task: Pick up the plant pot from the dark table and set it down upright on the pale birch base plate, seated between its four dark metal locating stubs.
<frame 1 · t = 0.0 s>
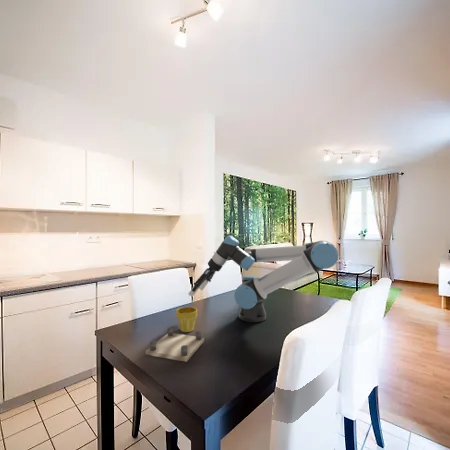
hand: (195, 292, 138), 15 cm above the table, tool tilted 35°, fingers open, 13 cm apart
stub plate: (176, 347, 107), on the table
plant pot: (186, 330, 125), on the table
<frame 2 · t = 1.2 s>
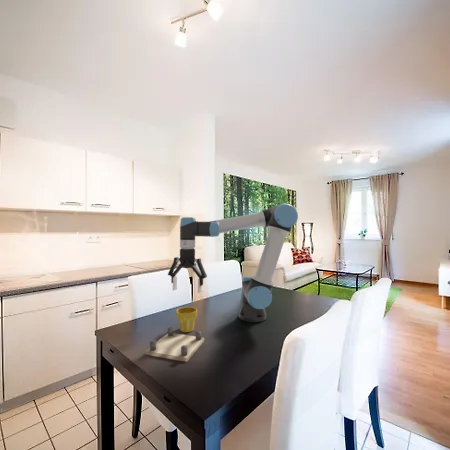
hand: (186, 291, 126), 19 cm above the table, tool pointing down, fingers open, 13 cm apart
nothing on the table moved.
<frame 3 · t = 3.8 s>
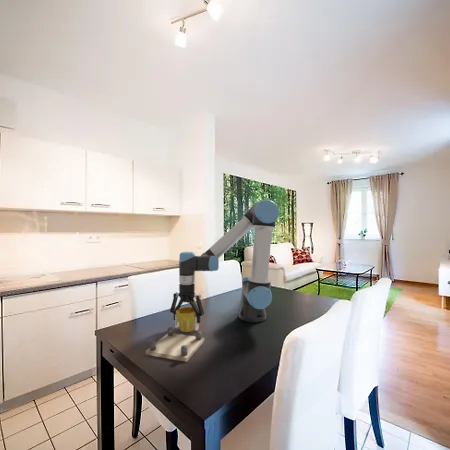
hand: (186, 328, 125), 1 cm above the table, tool pointing down, fingers closed on plant pot, 10 cm apart
plant pot: (186, 330, 125), on the table, touching gripper
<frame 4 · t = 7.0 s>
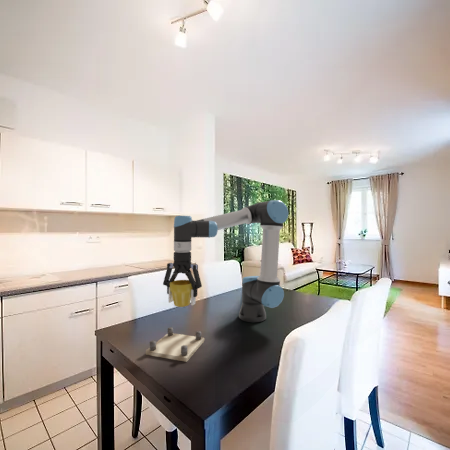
hand: (181, 303, 109), 18 cm above the table, tool pointing down, fingers closed on plant pot, 10 cm apart
plant pot: (181, 305, 109), point 17 cm above the table, touching gripper
when the fingers open (3 cm above the table, at t = 10.4 s): plant pot moves 2 cm, point 3 cm above the table.
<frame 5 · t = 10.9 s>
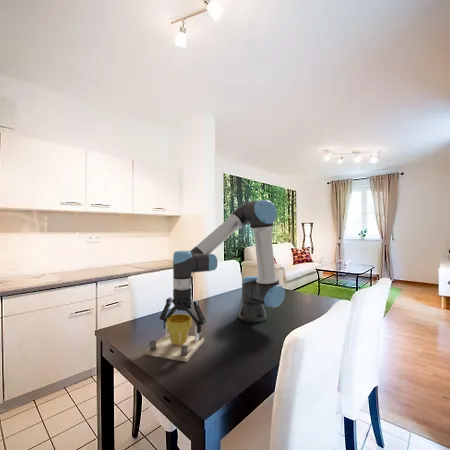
hand: (182, 338, 106), 4 cm above the table, tool pointing down, fingers open, 13 cm apart
plant pot: (178, 341, 107), point 3 cm above the table, touching gripper
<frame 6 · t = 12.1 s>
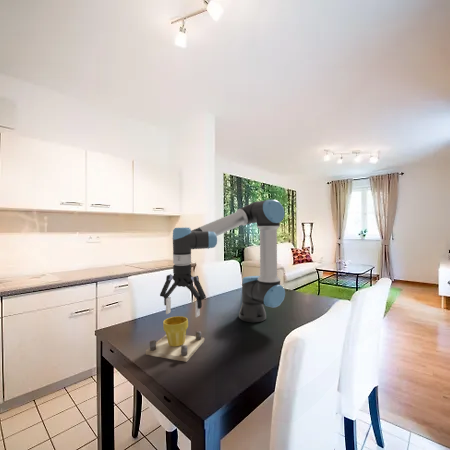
hand: (182, 314, 106), 14 cm above the table, tool pointing down, fingers open, 13 cm apart
plant pot: (176, 343, 107), point 1 cm above the table, touching stub plate
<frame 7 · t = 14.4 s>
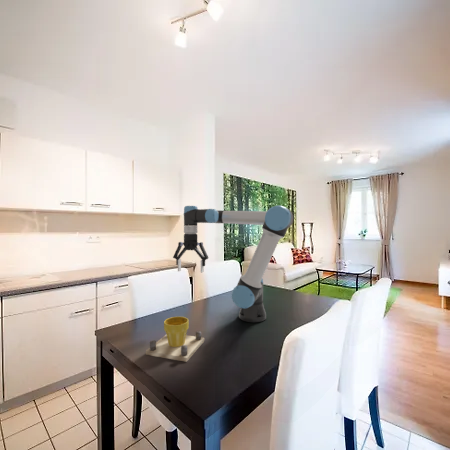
hand: (190, 271, 141), 26 cm above the table, tool pointing down, fingers open, 13 cm apart
nothing on the table moved.
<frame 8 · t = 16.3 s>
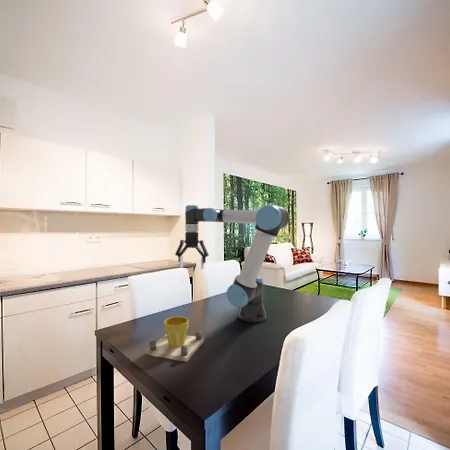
hand: (191, 268, 147), 27 cm above the table, tool pointing down, fingers open, 13 cm apart
nothing on the table moved.
at the end: plant pot 0.3 cm off-centre on the stub plate, point 1.3 cm above the stub plate's base; plant pot tilted 0°; the gripper is holding nothing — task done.
